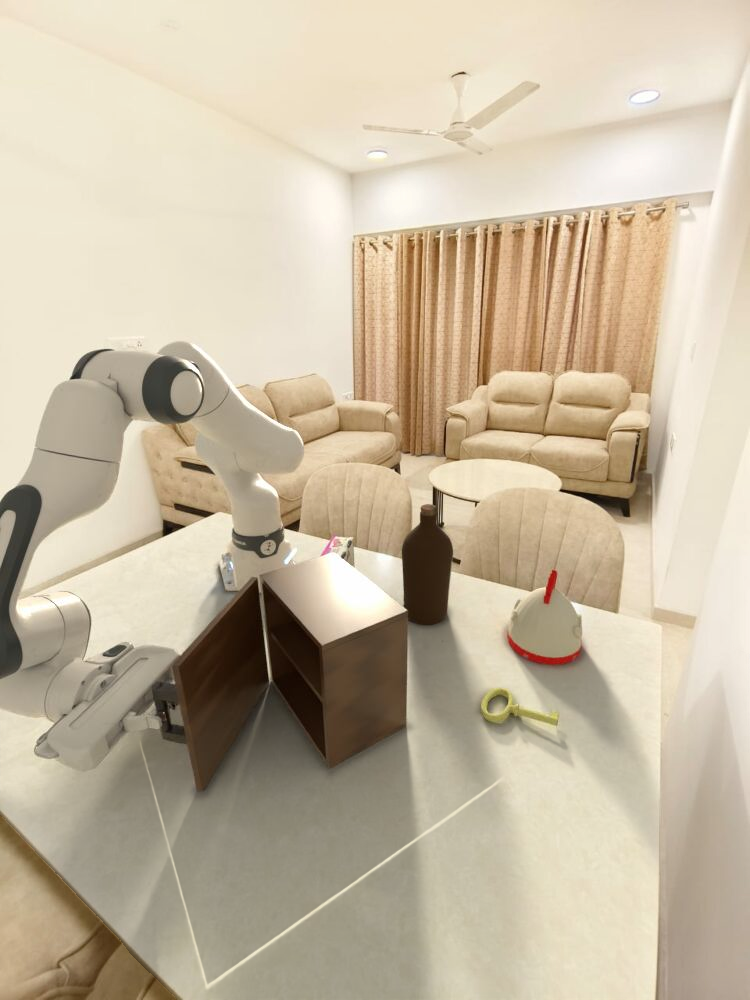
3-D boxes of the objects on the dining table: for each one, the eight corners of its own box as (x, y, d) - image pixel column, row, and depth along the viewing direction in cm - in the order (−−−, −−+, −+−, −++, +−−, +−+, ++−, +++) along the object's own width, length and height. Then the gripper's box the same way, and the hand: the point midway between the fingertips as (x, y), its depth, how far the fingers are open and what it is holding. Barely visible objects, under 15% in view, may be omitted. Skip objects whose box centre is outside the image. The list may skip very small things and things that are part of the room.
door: (160, 782, 71) (130, 658, 63) (234, 677, 91) (219, 572, 83) (202, 792, 70) (178, 666, 62) (269, 682, 89) (257, 577, 81)
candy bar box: (335, 599, 115) (332, 534, 108) (356, 601, 114) (354, 536, 108) (321, 628, 104) (316, 559, 98) (344, 631, 103) (341, 561, 97)
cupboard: (329, 769, 73) (321, 645, 65) (270, 681, 90) (259, 574, 82) (406, 727, 80) (408, 610, 72) (338, 652, 97) (333, 552, 89)
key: (560, 733, 78) (562, 722, 78) (480, 721, 81) (481, 711, 80) (554, 699, 85) (556, 689, 84) (480, 690, 87) (481, 680, 87)
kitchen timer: (585, 632, 102) (596, 568, 97) (574, 673, 91) (586, 603, 85) (516, 614, 108) (523, 552, 103) (499, 650, 97) (505, 583, 92)
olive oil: (411, 631, 103) (413, 520, 94) (394, 603, 113) (394, 500, 103) (458, 621, 106) (464, 513, 97) (437, 595, 116) (441, 494, 106)
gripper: (17, 733, 62) (111, 755, 59) (131, 634, 80) (207, 647, 77) (31, 770, 64) (122, 794, 61) (138, 666, 83) (213, 679, 79)
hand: (170, 711), depth 69 cm, fingers closed
